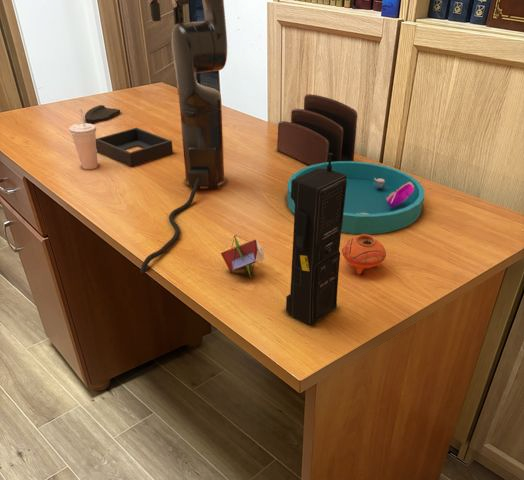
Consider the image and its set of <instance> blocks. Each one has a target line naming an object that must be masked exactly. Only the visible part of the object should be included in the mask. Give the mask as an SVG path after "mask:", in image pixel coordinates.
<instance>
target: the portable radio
mask: <svg viewBox="0 0 524 480" xmlns="http://www.w3.org/2000/svg"><path fill="white" fill-rule="evenodd" d="M328 155H329V164H328V165H327V169H325V168H317V169H315V170H313V171H310V172H308V173H306V174H304V175H302V176H299V177H297V178H295V179H293V180H292V182H291V199H292V200H293V201H294V203H295V214H293V215H294V218H293V236H292V237H293V238H292V254H291V255H292V256H291V275H290V291H289V294H288V295H286V297H285V299H286V301H285V312H287V313H288V315H290V316H291V317H293V318H295V319H297V320H299V321H301V322H303V323H305V324H307V325H309V326H313V325H315V324H316V323H317V322H319V321H320V320H322V319H323V318H325V317H326V316H327V315H328V314H330V313H332V312H333V311H334V310H335V309H336V308H337V307H338V285H339V275H340V273H339V272H340V262H341V252H340V246H341V235H342V232H341V229H342V222H343V213H344V204H345V195H346V186H347V180H346V178H347V176H346V175H345V174H342V173H339V172H336V171H333V170H332V166H331V155H333V153H328Z"/></svg>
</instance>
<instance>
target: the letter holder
mask: <svg viewBox="0 0 524 480" xmlns="http://www.w3.org/2000/svg"><path fill="white" fill-rule="evenodd" d="M357 125H358V113H357V110H356V109H354V108H352V107H351V106H349V105H347V104H345V103H343V102H341V101H338V100H335V99H332V98H329V97H326V96H322V95H317V94H310V93H307V94H305V95H304V98H303V109H302V108H293V109H292V110H291V112H290V121H285V120H281V121H278V124H277V140H276V151H278V152H280V153H282V154H284V155H286V156H288V157H291V158H293V159H295V160H297V161H299V162H301V163H303V164H305V165H307V166H311V165H315V164H320V163H326V162H329V155H328V153H333V155H331V162H336V161H355V149H356V148H355V147H356V137H357Z"/></svg>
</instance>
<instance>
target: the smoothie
mask: <svg viewBox="0 0 524 480" xmlns="http://www.w3.org/2000/svg"><path fill="white" fill-rule="evenodd" d="M79 113H80V118H81V123H75V124H72V125H70V126H69V127H68V131H69V134H70V135H71V137H72V138H71V139H72V140H73V143H74V146H75V150H76V152H77V155H78V158H79V162H80V164H81V166H82V169H84V170H94V169H96V168H98V152H97V149H96V139H97V136H96V132H97V127H96V125H95V124H94V123H93V124H88V123H86V121H85V115H84V112H83V108H82V107H79Z"/></svg>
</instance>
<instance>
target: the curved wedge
mask: <svg viewBox="0 0 524 480" xmlns="http://www.w3.org/2000/svg"><path fill="white" fill-rule="evenodd" d="M119 114H121V109H118V108H110V107H107V106H105V105H102V104H99V105H97V106H94V107H92V108H90V109H88V110H87V111H86V112H85V114H84V120H85V123H88V124H93V125H94V124H96V123H99V122H103V121H108V120H110V119H112V118H114V117H116V116H117V115H119Z"/></svg>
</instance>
